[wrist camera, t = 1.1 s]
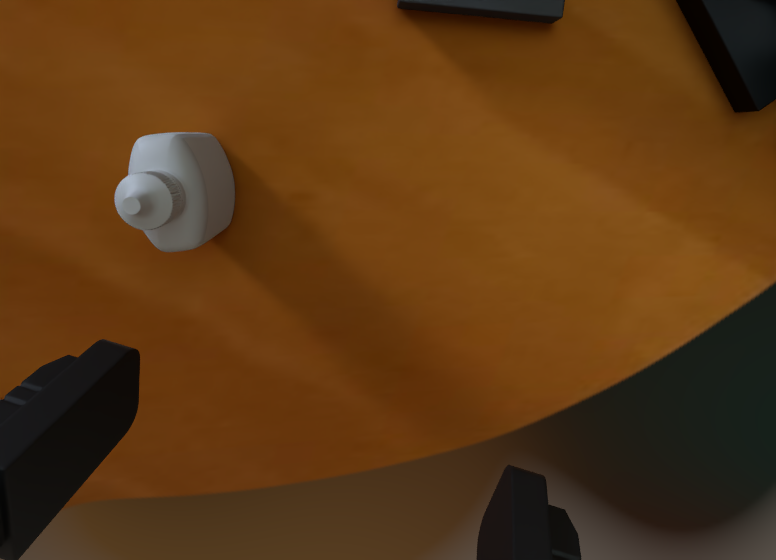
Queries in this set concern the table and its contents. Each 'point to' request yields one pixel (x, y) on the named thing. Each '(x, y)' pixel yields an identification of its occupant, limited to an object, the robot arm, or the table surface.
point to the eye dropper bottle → (177, 190)
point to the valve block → (738, 47)
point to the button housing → (493, 8)
